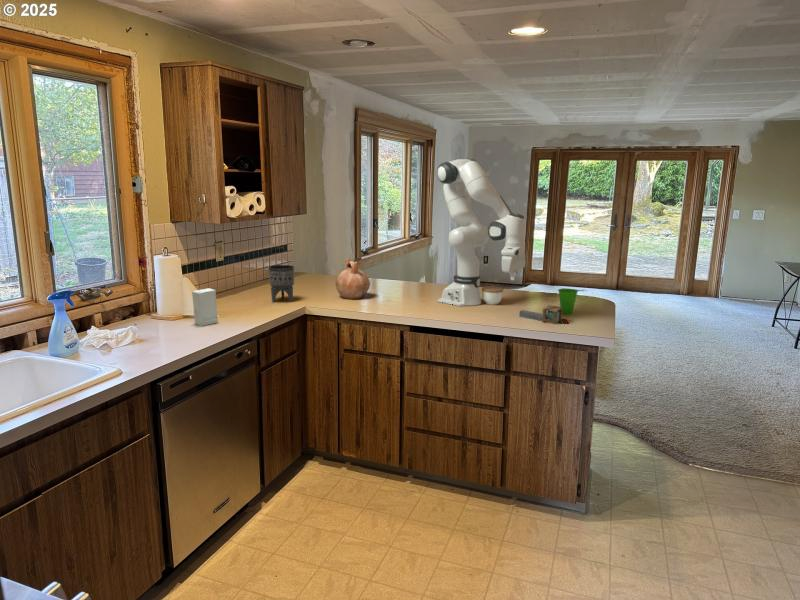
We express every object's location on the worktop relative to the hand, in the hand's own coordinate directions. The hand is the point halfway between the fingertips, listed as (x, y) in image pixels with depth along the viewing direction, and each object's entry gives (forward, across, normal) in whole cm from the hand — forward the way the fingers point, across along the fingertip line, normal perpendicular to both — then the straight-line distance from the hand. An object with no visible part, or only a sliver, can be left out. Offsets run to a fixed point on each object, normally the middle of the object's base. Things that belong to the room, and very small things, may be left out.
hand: (513, 279), depth 259 cm
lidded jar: (+17, -19, -18) cm, 31 cm away
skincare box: (+17, +88, -105) cm, 138 cm away
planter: (+17, +36, -110) cm, 117 cm away
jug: (+17, +8, -86) cm, 88 cm away
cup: (+17, -19, +20) cm, 32 cm away
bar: (+17, 0, +10) cm, 20 cm away
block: (+17, 0, +19) cm, 26 cm away
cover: (+17, 0, +19) cm, 25 cm away
